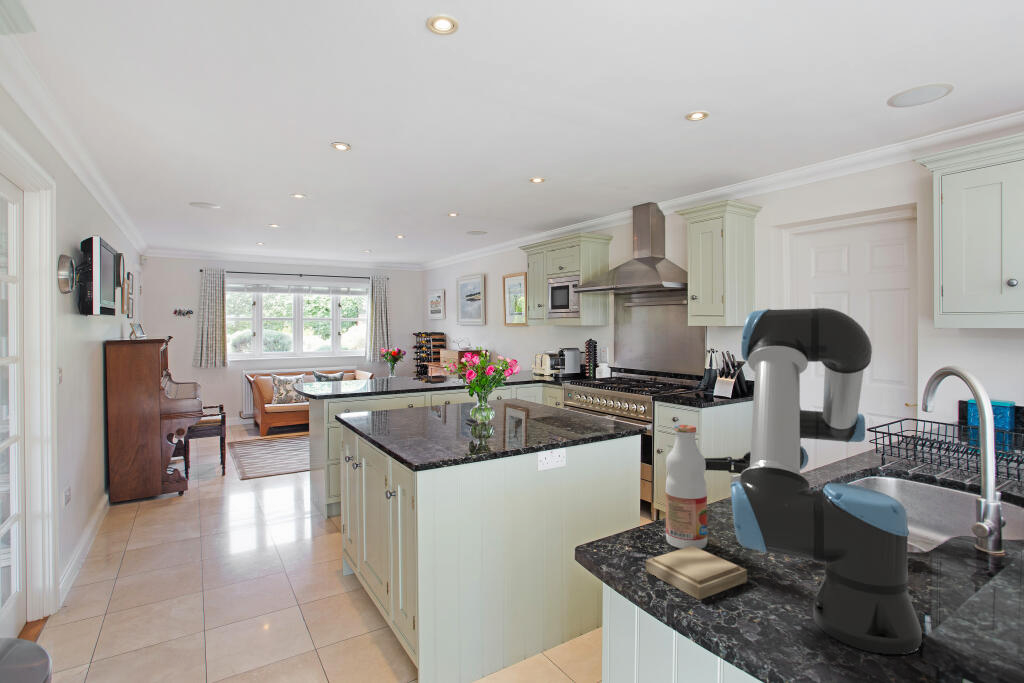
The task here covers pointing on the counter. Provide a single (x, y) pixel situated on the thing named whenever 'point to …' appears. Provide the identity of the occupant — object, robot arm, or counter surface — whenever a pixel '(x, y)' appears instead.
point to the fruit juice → (686, 492)
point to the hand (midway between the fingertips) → (708, 475)
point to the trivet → (696, 572)
